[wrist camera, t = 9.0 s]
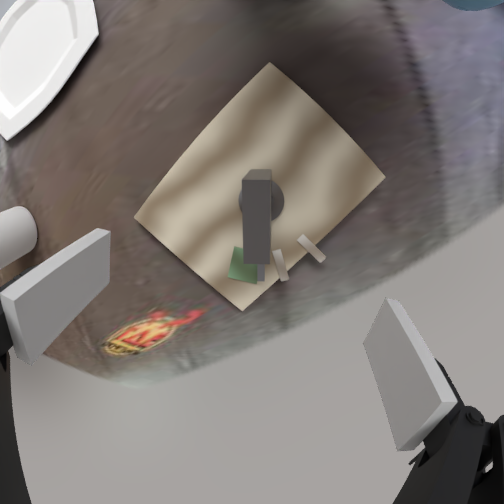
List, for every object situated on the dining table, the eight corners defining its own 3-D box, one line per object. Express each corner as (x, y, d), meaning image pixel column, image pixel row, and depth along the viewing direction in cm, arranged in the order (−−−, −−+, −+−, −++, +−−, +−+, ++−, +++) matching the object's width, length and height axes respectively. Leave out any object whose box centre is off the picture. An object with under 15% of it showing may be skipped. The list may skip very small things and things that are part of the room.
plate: (13, 161, 34) (5, 163, 33) (-23, 63, 27) (-30, 63, 25) (127, 36, 28) (120, 32, 26) (69, -45, 21) (63, -48, 19)
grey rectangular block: (274, 169, 31) (274, 179, 22) (273, 277, 35) (272, 319, 27) (247, 169, 31) (237, 179, 23) (249, 276, 36) (241, 318, 27)
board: (138, 214, 36) (132, 218, 34) (269, 65, 28) (269, 61, 27) (254, 314, 40) (253, 322, 38) (391, 187, 32) (397, 190, 31)
